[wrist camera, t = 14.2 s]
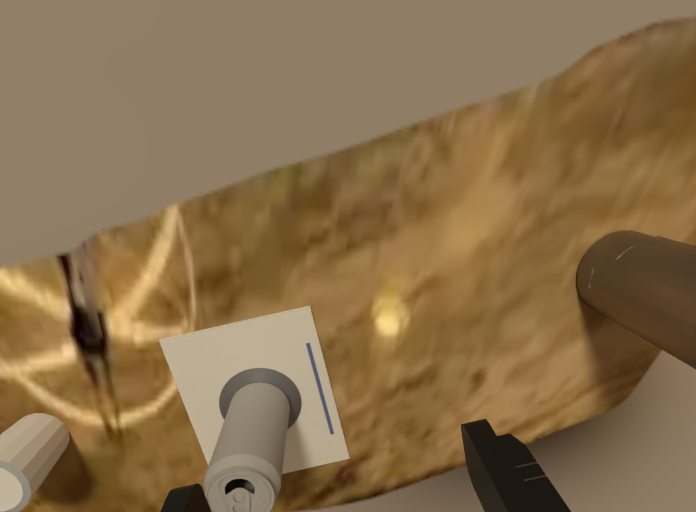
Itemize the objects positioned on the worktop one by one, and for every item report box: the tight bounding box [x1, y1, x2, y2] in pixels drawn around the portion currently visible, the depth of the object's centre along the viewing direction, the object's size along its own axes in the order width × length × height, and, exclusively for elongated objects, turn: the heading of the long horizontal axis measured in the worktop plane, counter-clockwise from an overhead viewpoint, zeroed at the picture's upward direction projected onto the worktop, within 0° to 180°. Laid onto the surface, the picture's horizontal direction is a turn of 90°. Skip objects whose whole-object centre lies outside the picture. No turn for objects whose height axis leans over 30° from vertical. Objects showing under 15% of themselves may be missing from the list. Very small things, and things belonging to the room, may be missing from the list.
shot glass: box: [0, 413, 70, 512], centre depth 39 cm, size 7×7×7 cm
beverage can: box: [204, 383, 290, 512], centre depth 37 cm, size 6×6×12 cm
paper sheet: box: [159, 306, 350, 474], centre depth 43 cm, size 16×20×1 cm
